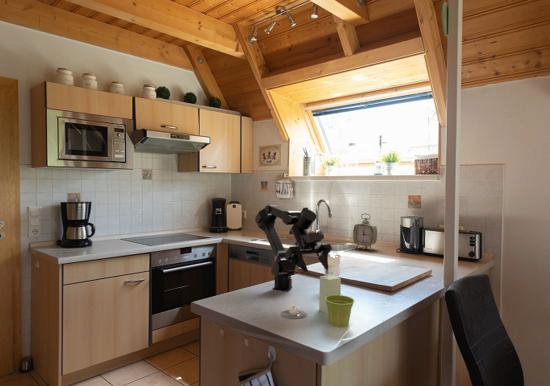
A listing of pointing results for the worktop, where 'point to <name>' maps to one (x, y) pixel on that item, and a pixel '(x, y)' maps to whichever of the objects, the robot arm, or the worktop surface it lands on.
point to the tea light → (293, 311)
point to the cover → (328, 290)
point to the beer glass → (333, 265)
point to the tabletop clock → (365, 233)
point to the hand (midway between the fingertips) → (317, 270)
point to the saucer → (299, 316)
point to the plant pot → (339, 309)
